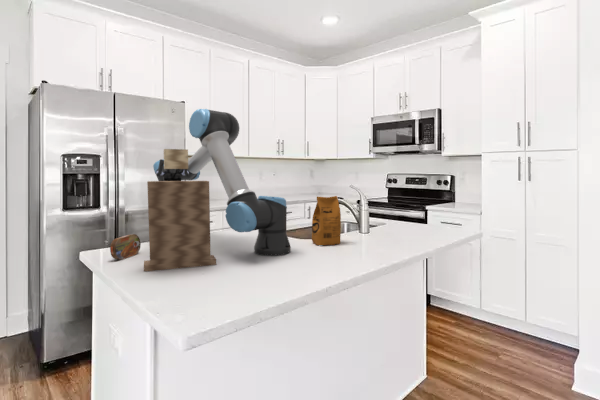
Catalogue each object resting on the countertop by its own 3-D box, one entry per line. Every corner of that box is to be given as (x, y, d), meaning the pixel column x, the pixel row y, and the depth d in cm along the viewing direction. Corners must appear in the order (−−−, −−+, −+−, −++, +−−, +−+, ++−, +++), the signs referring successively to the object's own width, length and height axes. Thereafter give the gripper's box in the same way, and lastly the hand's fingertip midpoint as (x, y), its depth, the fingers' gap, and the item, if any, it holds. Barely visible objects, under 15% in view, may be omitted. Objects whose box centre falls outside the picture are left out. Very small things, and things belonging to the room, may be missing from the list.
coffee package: (309, 242, 171) (309, 195, 169) (333, 240, 176) (333, 195, 174) (318, 246, 162) (318, 197, 160) (342, 244, 167) (343, 196, 165)
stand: (213, 260, 138) (212, 180, 135) (216, 264, 132) (214, 181, 129) (144, 266, 129) (141, 181, 127) (143, 271, 123) (140, 182, 120)
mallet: (183, 168, 152) (183, 151, 152) (188, 168, 133) (187, 149, 132) (163, 168, 149) (162, 151, 149) (164, 168, 130) (164, 148, 129)
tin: (116, 262, 135) (115, 239, 134) (108, 261, 136) (107, 239, 135) (141, 252, 150) (140, 232, 149) (134, 252, 150) (134, 232, 150)
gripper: (191, 188, 163) (196, 161, 144) (152, 188, 157) (152, 160, 138) (190, 173, 166) (195, 145, 146) (152, 173, 160) (151, 143, 140)
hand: (174, 152), depth 142 cm, fingers closed on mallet, 3 cm apart
